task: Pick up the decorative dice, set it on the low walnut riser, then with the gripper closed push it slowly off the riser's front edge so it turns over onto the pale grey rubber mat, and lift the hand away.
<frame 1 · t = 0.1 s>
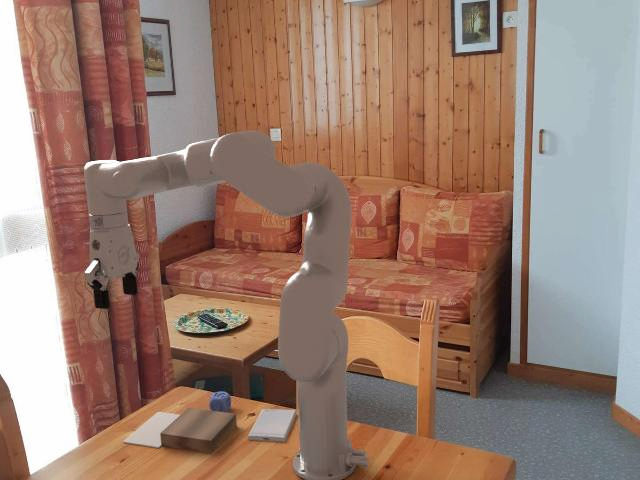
hand: (117, 301, 135), 31 cm above the table, tool pointing down, fingers open, 9 cm apart
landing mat: (158, 429, 144), on the table
hard drive: (273, 429, 144), on the table
decorative dice: (220, 411, 152), on the table
riser: (200, 435, 140), on the table
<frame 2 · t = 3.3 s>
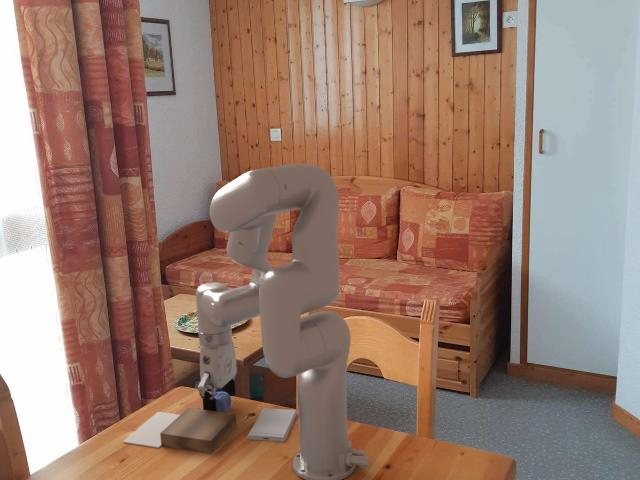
hand: (220, 404, 152), 1 cm above the table, tool pointing down, fingers open, 9 cm apart
nothing on the table moved.
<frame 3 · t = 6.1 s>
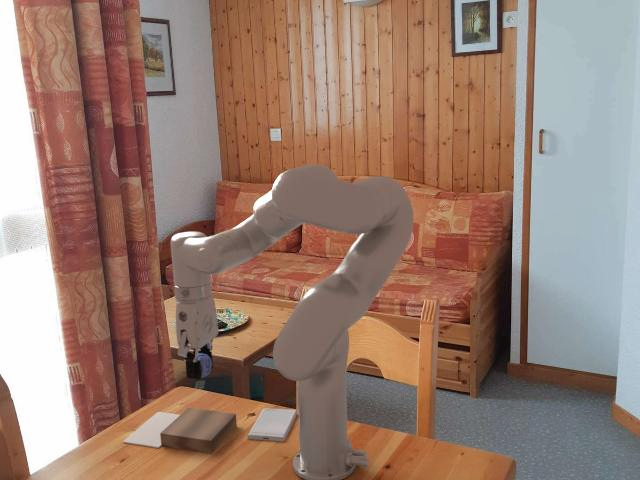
hand: (200, 372, 137), 15 cm above the table, tool pointing down, fingers closed on decorative dice, 4 cm apart
decorative dice: (200, 375, 137), point 14 cm above the table, touching gripper
everything else where it was.
when the fingers open (5 cm above the table, at t = 8.4 s): decorative dice drops 1 cm, resting on riser.
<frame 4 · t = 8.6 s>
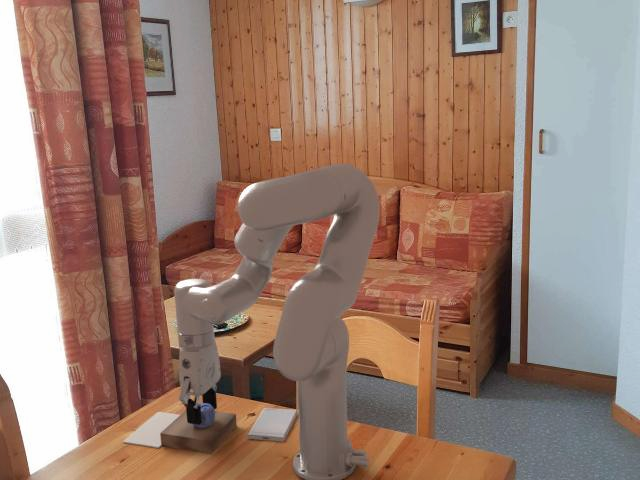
hand: (202, 415, 139), 5 cm above the table, tool pointing down, fingers open, 6 cm apart
decorative dice: (203, 424, 140), point 3 cm above the table, touching riser
everything else where it was.
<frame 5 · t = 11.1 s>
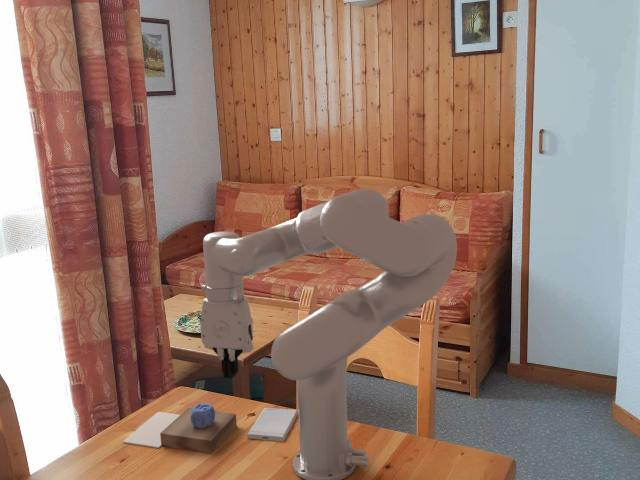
hand: (230, 375, 135), 15 cm above the table, tool pointing down, fingers closed
nothing on the table moved.
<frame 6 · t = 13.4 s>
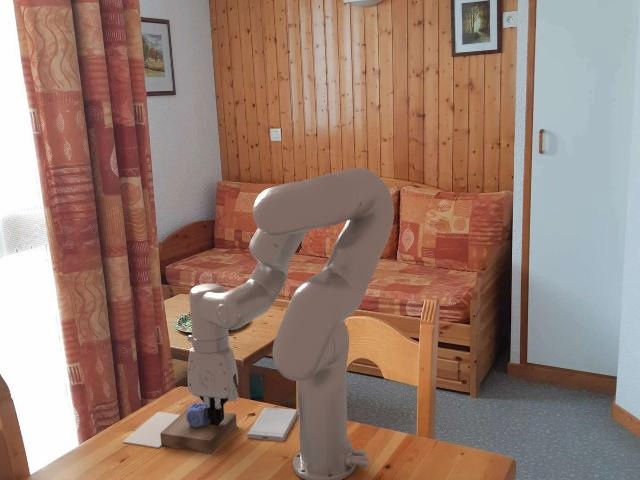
hand: (216, 422, 138), 4 cm above the table, tool pointing down, fingers closed
decorative dice: (199, 423, 140), point 3 cm above the table, touching gripper
everything else where it was.
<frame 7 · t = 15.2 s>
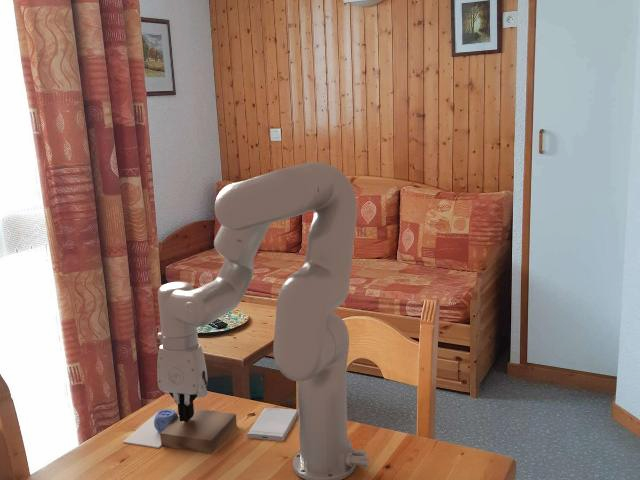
hand: (186, 418, 141), 4 cm above the table, tool pointing down, fingers closed
decorative dice: (175, 422, 142), point 2 cm above the table, touching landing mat
everything else where it was.
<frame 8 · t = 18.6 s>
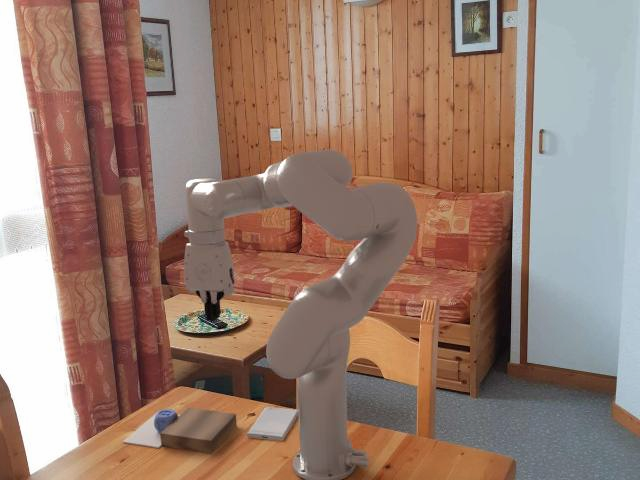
hand: (213, 318, 140), 25 cm above the table, tool pointing down, fingers closed
nothing on the table moved.
at the end: decorative dice tilted 90°; decorative dice inside the target area on the table beside the riser (4.5 cm from its centre), point 2.3 cm above the table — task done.
